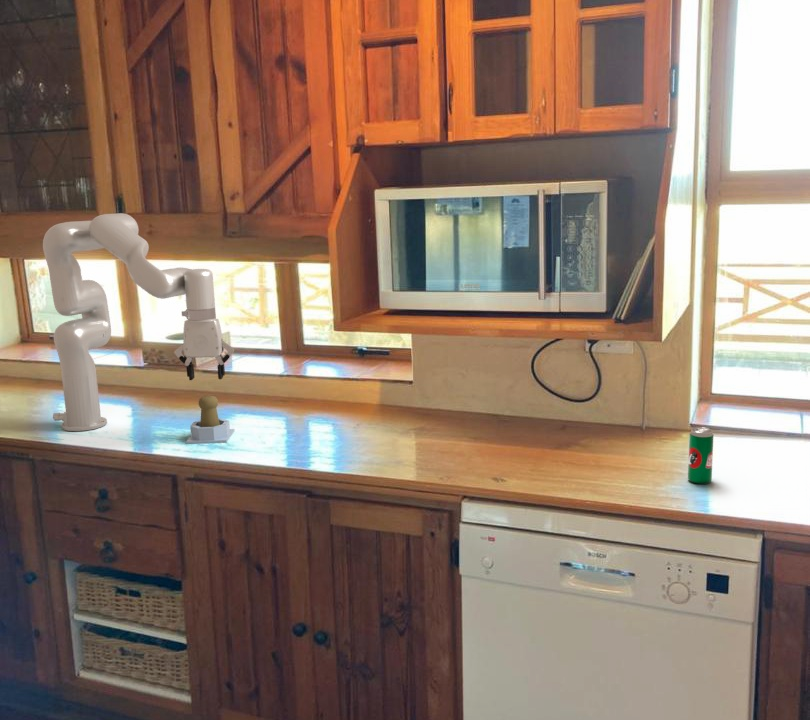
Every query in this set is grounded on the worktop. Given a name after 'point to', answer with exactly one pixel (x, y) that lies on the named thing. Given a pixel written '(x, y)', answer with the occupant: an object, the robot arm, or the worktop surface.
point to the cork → (208, 411)
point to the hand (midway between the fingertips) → (206, 378)
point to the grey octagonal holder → (210, 433)
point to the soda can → (700, 455)
